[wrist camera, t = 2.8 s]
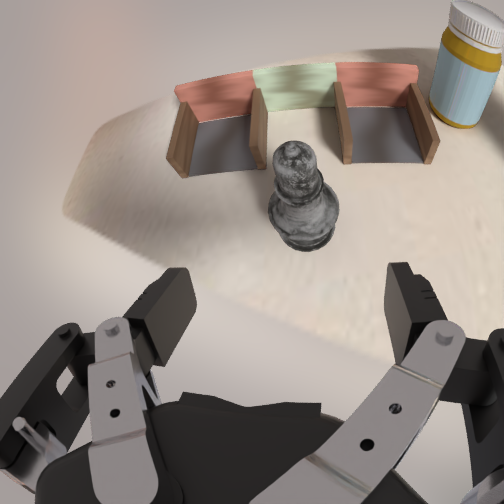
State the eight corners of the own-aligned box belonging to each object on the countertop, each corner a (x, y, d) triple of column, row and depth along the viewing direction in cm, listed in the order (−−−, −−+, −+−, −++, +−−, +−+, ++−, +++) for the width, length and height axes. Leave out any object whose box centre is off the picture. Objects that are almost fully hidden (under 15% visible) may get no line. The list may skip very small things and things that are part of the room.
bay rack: (409, 101, 29) (416, 64, 24) (430, 164, 26) (445, 127, 21) (194, 117, 36) (175, 85, 30) (182, 178, 33) (157, 147, 27)
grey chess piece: (277, 258, 27) (242, 192, 16) (272, 201, 29) (239, 116, 18) (343, 250, 26) (351, 177, 15) (332, 192, 28) (329, 101, 17)
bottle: (472, 141, 26) (513, 42, 12) (421, 113, 28) (442, 7, 15) (480, 109, 27) (511, 20, 13) (434, 85, 29) (451, -9, 16)
